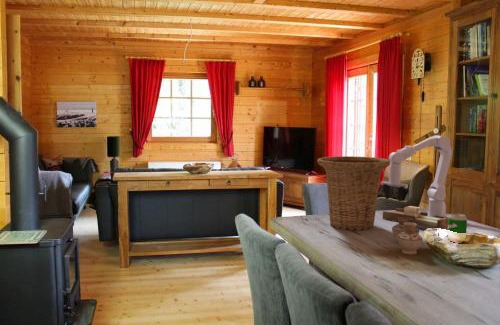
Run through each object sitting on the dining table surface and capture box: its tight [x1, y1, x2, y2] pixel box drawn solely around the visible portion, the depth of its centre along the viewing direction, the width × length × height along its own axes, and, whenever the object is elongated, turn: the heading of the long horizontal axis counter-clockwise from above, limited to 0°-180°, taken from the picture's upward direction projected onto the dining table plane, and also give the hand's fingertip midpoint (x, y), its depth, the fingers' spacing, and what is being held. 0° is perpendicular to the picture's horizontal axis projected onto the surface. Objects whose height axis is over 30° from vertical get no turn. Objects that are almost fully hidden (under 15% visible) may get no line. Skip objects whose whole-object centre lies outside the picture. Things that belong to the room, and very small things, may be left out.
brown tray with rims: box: [382, 207, 448, 229], centre depth 246 cm, size 16×32×4 cm, turn 43°
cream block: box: [403, 205, 421, 218], centre depth 248 cm, size 6×6×4 cm
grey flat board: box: [413, 216, 445, 231], centre depth 240 cm, size 29×12×2 cm, turn 133°
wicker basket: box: [316, 155, 390, 231], centre depth 236 cm, size 35×35×33 cm
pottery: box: [391, 217, 424, 255], centre depth 198 cm, size 11×25×12 cm, turn 169°
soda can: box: [447, 212, 468, 234], centre depth 206 cm, size 8×8×12 cm
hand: (393, 199), depth 255 cm, fingers open, 7 cm apart
